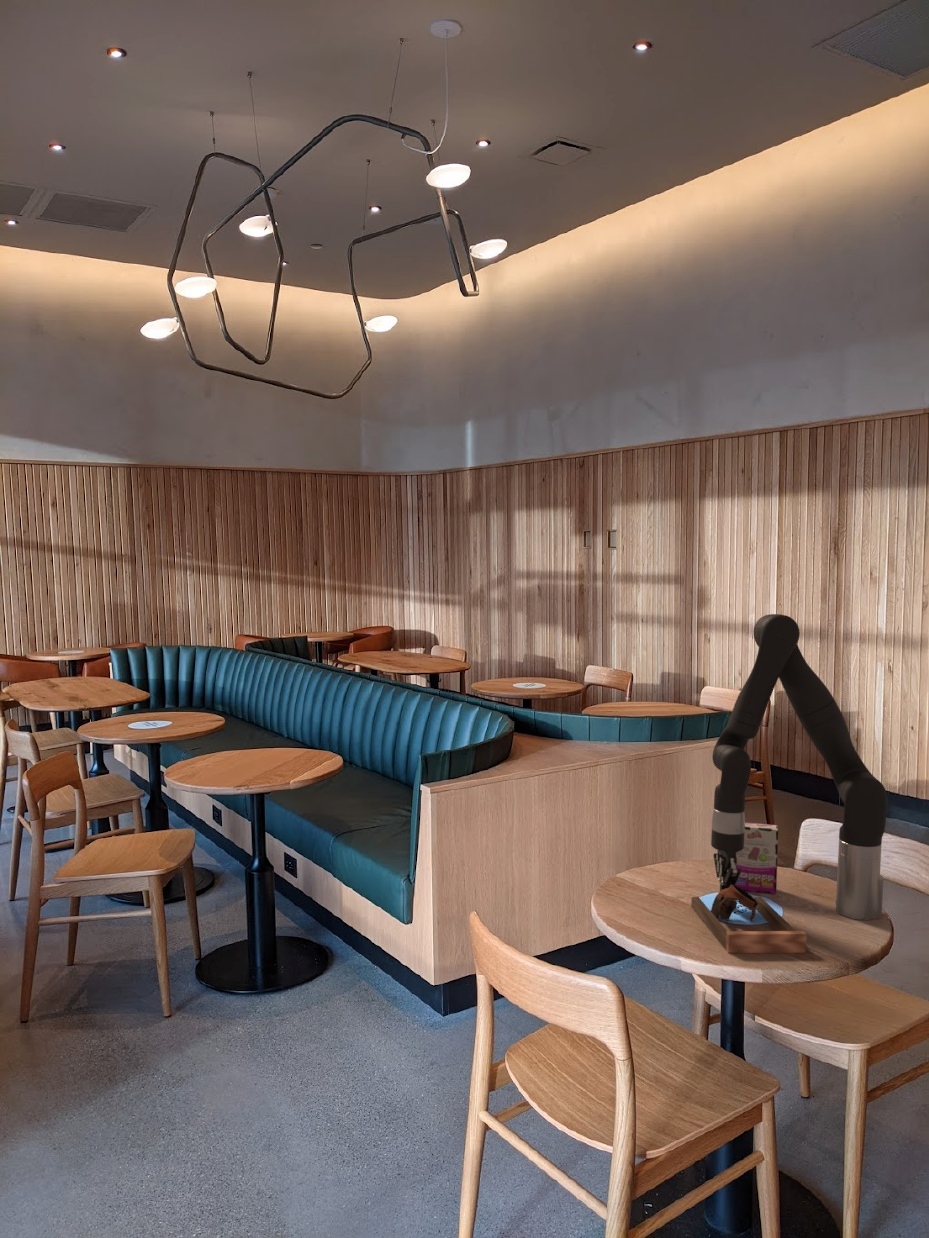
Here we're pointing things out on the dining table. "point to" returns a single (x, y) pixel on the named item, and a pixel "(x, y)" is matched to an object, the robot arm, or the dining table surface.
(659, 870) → the dining table surface
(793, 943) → the bay
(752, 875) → the candy bar box
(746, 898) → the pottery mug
